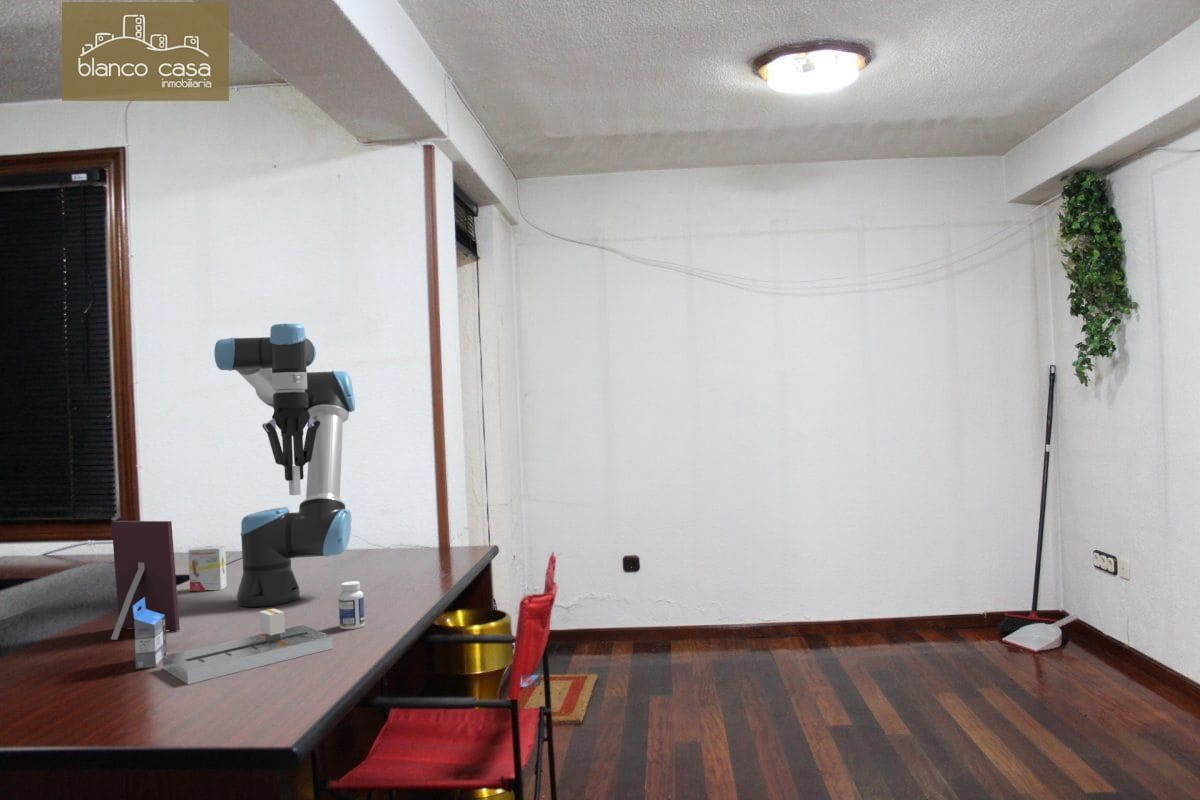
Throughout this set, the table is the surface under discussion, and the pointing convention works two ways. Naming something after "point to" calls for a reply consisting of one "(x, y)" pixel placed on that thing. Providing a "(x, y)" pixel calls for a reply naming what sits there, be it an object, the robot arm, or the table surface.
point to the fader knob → (272, 624)
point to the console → (244, 654)
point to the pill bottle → (351, 606)
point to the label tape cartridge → (148, 636)
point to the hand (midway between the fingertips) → (295, 494)
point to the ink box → (207, 568)
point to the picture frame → (144, 571)
